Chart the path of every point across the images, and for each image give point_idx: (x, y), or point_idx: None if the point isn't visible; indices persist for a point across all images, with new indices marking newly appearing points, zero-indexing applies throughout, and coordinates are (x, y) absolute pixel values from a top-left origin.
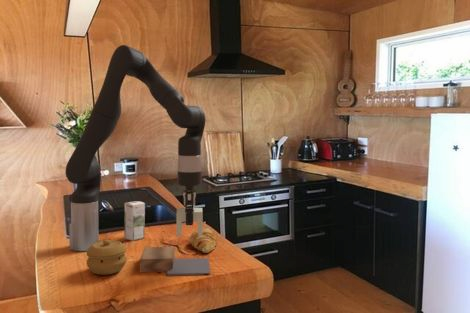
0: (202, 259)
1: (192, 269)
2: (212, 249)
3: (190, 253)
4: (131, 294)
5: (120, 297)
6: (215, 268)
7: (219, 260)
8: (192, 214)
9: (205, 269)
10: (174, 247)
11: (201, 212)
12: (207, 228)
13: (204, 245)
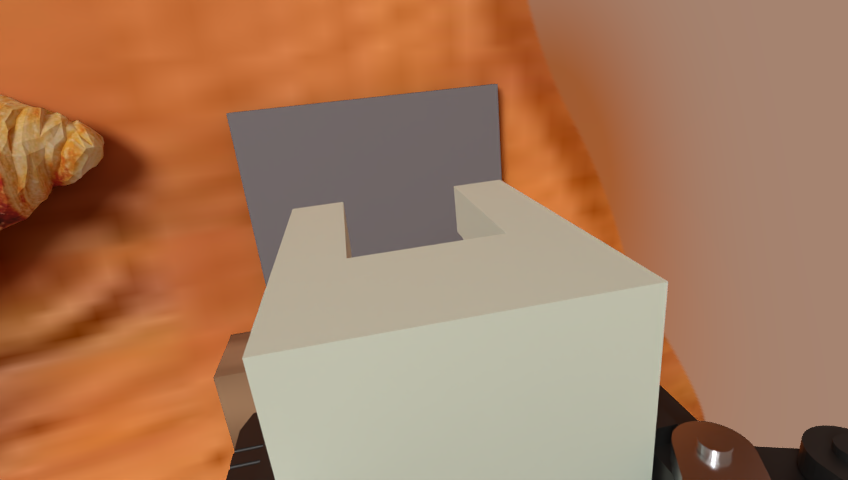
0: (261, 156)
1: (446, 197)
2: (4, 96)
3: (111, 257)
4: (677, 388)
5: (695, 414)
6: (388, 54)
7: (225, 28)
8: (665, 418)
9: (444, 118)
10: (235, 374)
11: (658, 298)
12: None
13: (40, 168)
